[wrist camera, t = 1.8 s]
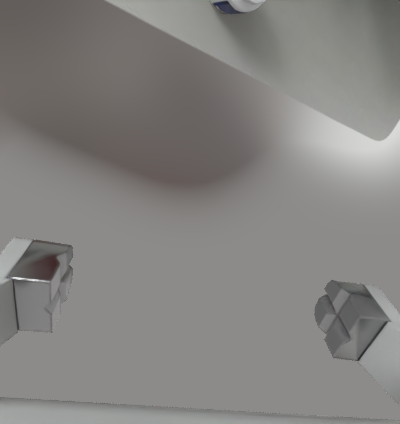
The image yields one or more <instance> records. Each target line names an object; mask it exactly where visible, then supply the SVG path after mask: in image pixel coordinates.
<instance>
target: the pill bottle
mask: <svg viewBox="0 0 400 424" xmlns="http://www.w3.org/2000/svg"><path fill="white" fill-rule="evenodd" d="M265 1H266V0H210V2H211V4H212V6H213V7H214V8H215V9H216V10H217V11H219V12H220V13H223V14H235V13H246V12H251V11H254V10H256V9H257V8H258V7H260V6H261V5H262V3H263V2H265Z"/></svg>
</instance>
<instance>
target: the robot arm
mask: <svg viewBox="0 0 400 424" xmlns="http://www.w3.org/2000/svg"><path fill="white" fill-rule="evenodd" d="M72 258H73V247H72V246H71V245H66V244H60V243H54V242H47V241H41V240H33V239H26V238H20V237H16V238H14V239H12V240H11V241H10V242H9V243H8V245H7V246H6V247H5V248H4V250H3V251H2V252H1V253H0V346H1V345H2V344H4V343H5V342H6V341H7V340H9V339H10V338H11V337H12V336H14V335H15V334H16V333H17V332H18V330H21V331H36V332H52V331H53V329H54V327H55V324H56V322H57V320H58V317H59V315H60V309H61V308H60V307H61V303H63V302H64V301H66V298H67V296H68V294H69V290H70V287H71V283H72V275H73V268H72V267H71V266H70V265H69V264H70V262H71V260H72ZM325 293H326V295H324V296H322V297H321V298H319V300H318V302H317V304H316V306H315V319H316V322H317V325H318V327H319V328H320V329H321V330H322V331H323V332H324V333H326V335H325V339H324V340H325V342H326V344H327V346H328V348H329V350H330V352H331V354H332V356H333V358H338V359H346V360H355V361H358V363H359V364H360V365H361V366H362V367H363V368H364V369H365V370H366V371H367V372H368V373H369V374H370V376H371V377H372V378H373V379H374V380H375V381H376V382H377V383H378V384H379V385H380V386H381V387H382V388H383V389H384V390H385V391H386V392H387V393H388V394H389V395H390V396H391V397H392V398H393V399H394V400H395V402H396V403H397V404H398V405H399V406H400V314H399V313H398V311H397V310H396V309H395V307H394V306H393V305H392V304H391V302H390V301H389V300H388V299H387V297H386V296H385V295H384V294H383V292H382V291H381V290H380V288H378V287H377V286H375V285H370V284H361V283H360V284H357V283H350V282H342V281H333V280H332V281H330V282H329V283H328V284H327V285H326V287H325ZM0 424H400V420H388V419H370V418H352V417H335V416H317V415H298V414H280V413H264V412H246V411H229V410H213V409H196V408H195V409H194V408H179V407H161V406H145V405H126V404H110V403H109V404H108V403H92V402H75V401H58V400H41V399H23V398H5V397H0Z"/></svg>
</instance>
